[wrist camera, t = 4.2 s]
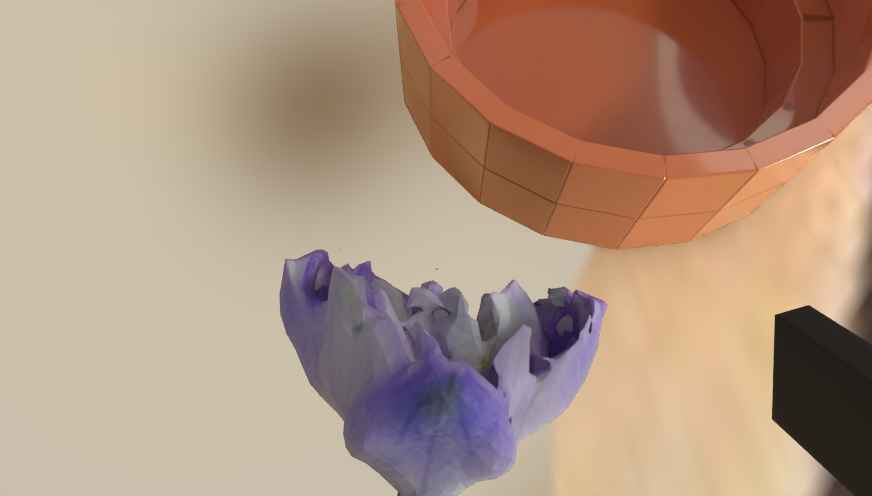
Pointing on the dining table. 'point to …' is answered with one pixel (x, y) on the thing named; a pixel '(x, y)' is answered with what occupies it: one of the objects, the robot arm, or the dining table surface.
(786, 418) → the robot arm
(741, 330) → the dining table surface
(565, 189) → the pot
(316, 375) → the flower
